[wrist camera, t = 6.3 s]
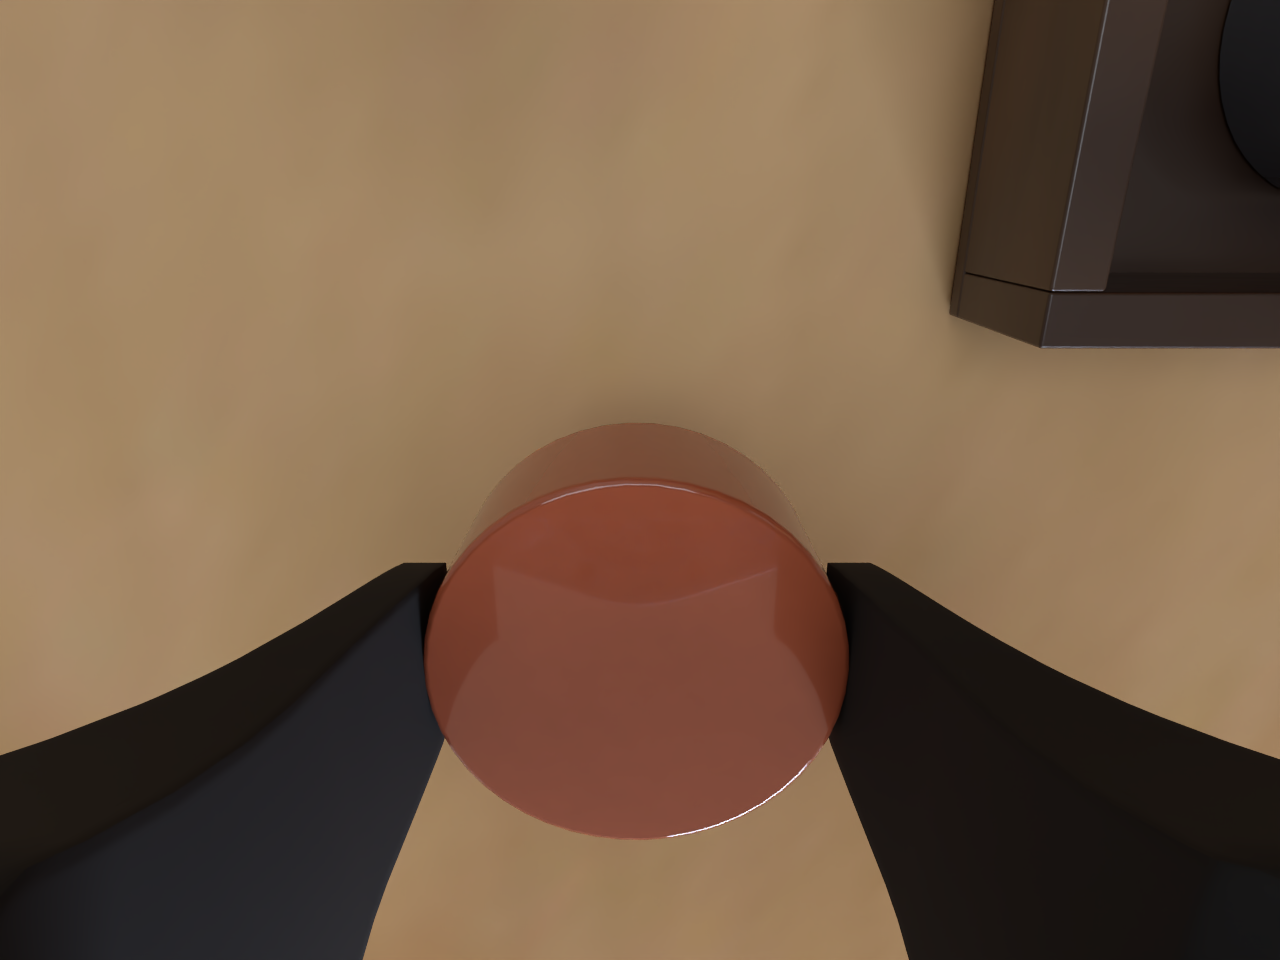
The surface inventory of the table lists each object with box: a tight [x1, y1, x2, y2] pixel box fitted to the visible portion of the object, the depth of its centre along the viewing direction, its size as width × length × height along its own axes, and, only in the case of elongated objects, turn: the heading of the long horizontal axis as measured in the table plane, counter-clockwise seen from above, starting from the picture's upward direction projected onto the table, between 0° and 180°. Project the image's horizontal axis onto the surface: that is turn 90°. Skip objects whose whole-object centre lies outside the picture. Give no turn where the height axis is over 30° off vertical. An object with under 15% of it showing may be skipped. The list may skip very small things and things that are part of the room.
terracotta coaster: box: [423, 423, 849, 840], centre depth 11 cm, size 6×6×2 cm
